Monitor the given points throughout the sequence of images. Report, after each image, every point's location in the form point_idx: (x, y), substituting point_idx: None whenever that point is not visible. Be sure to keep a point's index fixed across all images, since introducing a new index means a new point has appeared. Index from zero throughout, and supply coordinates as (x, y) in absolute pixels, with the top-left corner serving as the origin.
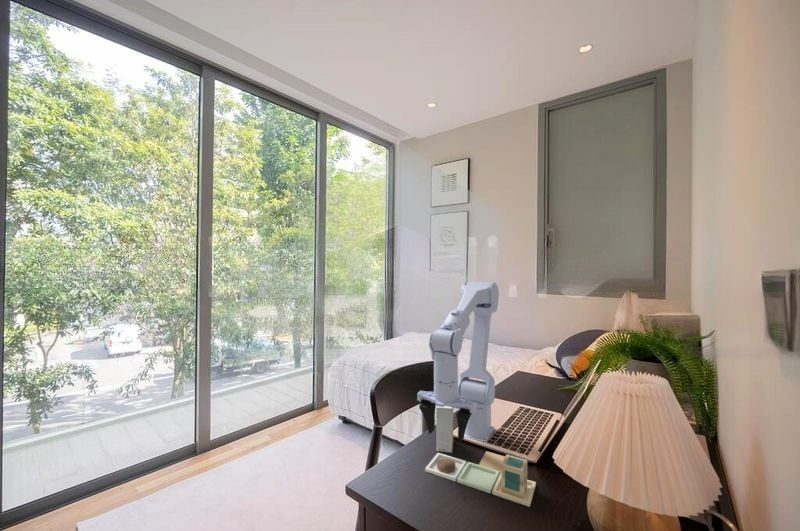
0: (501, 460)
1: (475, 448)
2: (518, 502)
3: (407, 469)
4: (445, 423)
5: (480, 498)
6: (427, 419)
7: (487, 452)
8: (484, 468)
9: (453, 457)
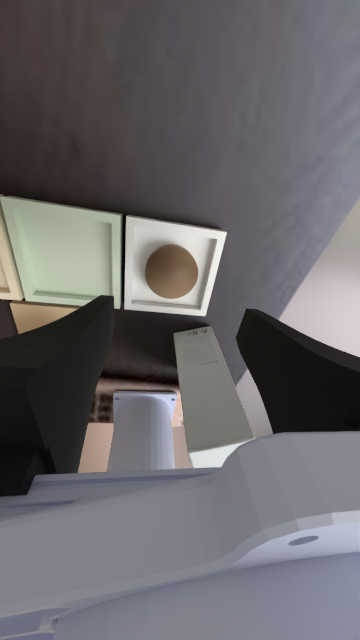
0: None
1: (128, 369)
2: None
3: (273, 228)
4: (203, 390)
5: (31, 168)
6: (300, 339)
7: None
8: (68, 298)
9: (161, 311)
